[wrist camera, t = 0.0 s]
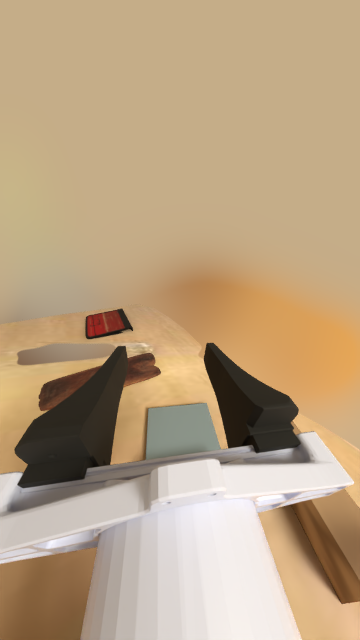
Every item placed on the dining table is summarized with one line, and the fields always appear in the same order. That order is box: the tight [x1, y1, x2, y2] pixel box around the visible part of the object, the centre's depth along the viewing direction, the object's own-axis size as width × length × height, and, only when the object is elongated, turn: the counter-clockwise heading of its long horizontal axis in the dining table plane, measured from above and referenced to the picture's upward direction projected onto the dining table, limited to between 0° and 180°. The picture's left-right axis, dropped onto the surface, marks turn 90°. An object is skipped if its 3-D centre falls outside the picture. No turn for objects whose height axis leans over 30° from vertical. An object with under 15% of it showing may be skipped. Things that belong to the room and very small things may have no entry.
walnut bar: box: [291, 421, 360, 604], centre depth 22 cm, size 18×5×5 cm, turn 7°
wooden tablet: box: [39, 353, 161, 411], centre depth 38 cm, size 26×2×10 cm
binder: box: [86, 309, 133, 339], centre depth 63 cm, size 16×2×21 cm
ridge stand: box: [146, 403, 221, 460], centre depth 21 cm, size 22×12×4 cm, turn 8°
